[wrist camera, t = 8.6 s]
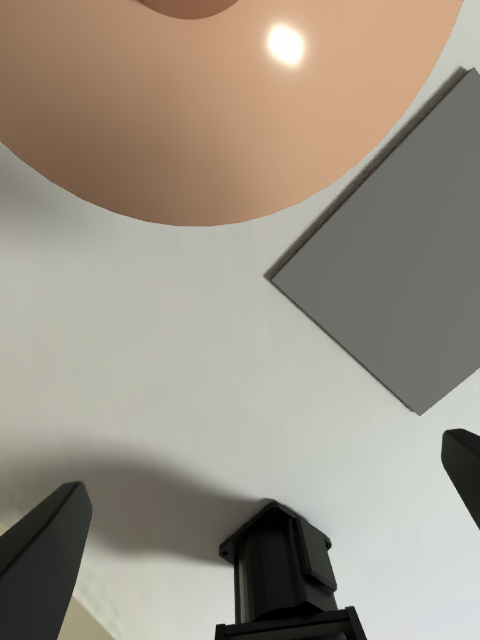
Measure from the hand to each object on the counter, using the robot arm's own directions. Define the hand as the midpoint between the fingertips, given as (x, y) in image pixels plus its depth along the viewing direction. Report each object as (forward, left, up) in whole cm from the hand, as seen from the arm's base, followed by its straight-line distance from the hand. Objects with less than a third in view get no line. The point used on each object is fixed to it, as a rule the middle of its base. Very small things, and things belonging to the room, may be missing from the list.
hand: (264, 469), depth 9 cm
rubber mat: (+10, -7, -13) cm, 17 cm away
